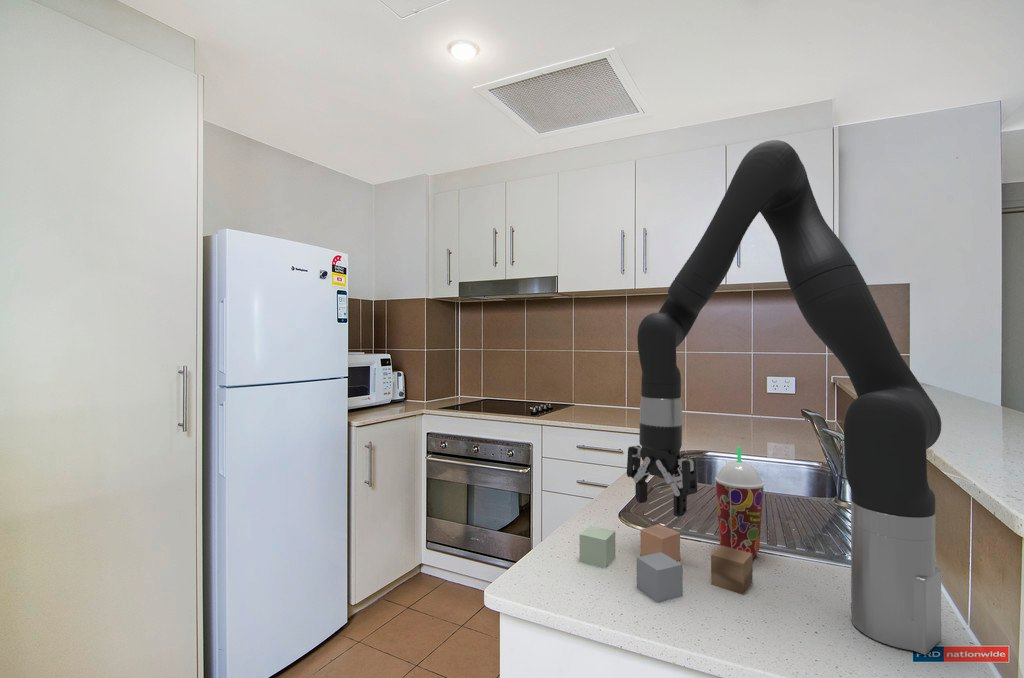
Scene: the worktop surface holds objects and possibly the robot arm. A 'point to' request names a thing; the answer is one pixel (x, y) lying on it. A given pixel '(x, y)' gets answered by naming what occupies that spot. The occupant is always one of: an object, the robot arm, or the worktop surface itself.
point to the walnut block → (731, 569)
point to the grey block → (659, 577)
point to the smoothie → (739, 505)
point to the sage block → (597, 546)
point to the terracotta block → (660, 541)
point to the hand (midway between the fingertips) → (659, 508)
